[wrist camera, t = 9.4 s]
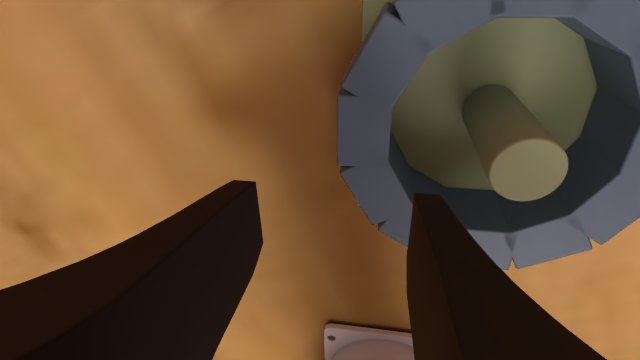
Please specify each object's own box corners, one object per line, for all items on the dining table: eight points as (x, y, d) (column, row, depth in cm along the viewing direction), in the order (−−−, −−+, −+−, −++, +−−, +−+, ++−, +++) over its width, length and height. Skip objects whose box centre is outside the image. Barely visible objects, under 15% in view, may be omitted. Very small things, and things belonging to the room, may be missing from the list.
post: (574, 205, 17) (657, 318, 12) (359, 190, 19) (344, 284, 14) (668, -45, 12) (886, -50, 7) (366, -36, 14) (347, -34, 9)
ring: (591, 232, 16) (627, 282, 14) (345, 212, 18) (336, 253, 16) (718, -62, 11) (817, -70, 8) (349, -51, 13) (337, -54, 10)
